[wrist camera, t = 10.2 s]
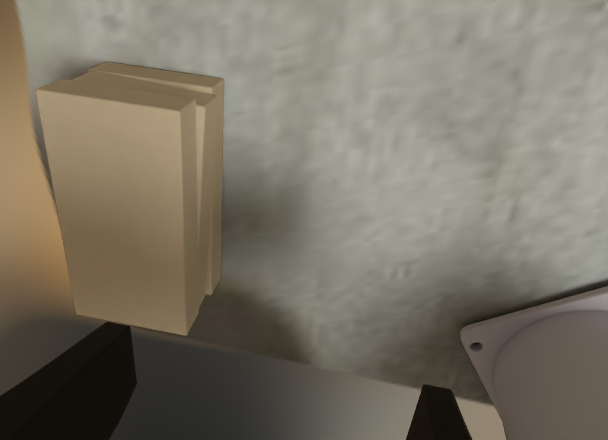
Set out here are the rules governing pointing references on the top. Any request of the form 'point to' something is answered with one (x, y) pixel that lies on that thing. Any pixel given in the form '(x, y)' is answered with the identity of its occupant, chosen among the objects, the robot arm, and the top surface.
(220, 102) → the beige flat block
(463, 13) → the top surface
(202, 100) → the beige book
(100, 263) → the beige flat slab
